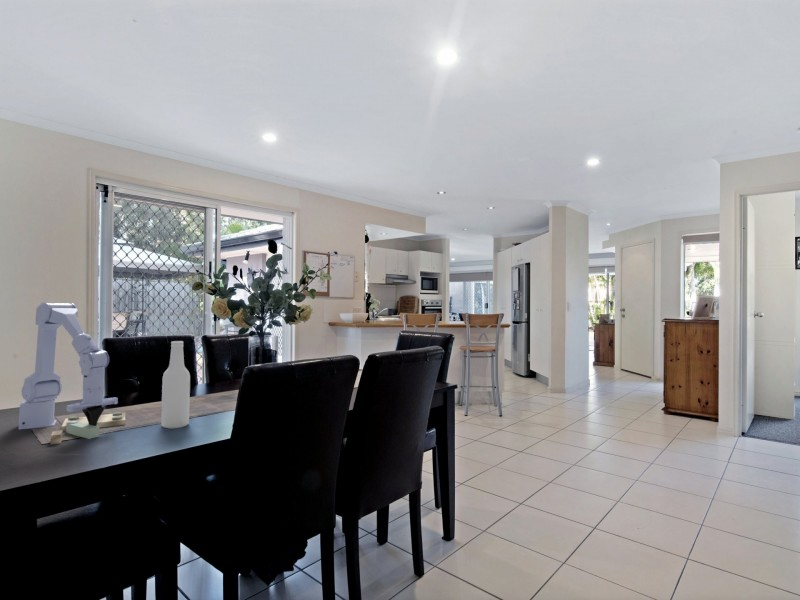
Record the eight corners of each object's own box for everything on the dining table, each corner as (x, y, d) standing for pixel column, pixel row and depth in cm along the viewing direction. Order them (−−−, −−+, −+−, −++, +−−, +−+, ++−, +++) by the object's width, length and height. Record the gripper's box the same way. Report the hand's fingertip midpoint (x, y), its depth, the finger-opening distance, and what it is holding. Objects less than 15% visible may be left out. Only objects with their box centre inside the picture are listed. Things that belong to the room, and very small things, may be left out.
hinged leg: (64, 432, 143) (64, 422, 143) (74, 429, 146) (75, 420, 146) (88, 438, 137) (88, 428, 137) (99, 436, 139) (99, 426, 139)
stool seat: (50, 445, 131) (50, 435, 131) (61, 424, 153) (61, 416, 154) (125, 436, 141) (125, 426, 141) (125, 417, 164) (125, 409, 164)
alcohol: (156, 429, 150) (158, 342, 150) (168, 422, 158) (170, 340, 159) (182, 429, 150) (184, 342, 151) (193, 422, 159) (195, 340, 159)
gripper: (75, 393, 134) (74, 437, 134) (123, 385, 147) (122, 426, 147) (63, 390, 137) (62, 433, 137) (111, 384, 150) (110, 423, 150)
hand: (92, 429), depth 142 cm, fingers closed, pressing on hinged leg
